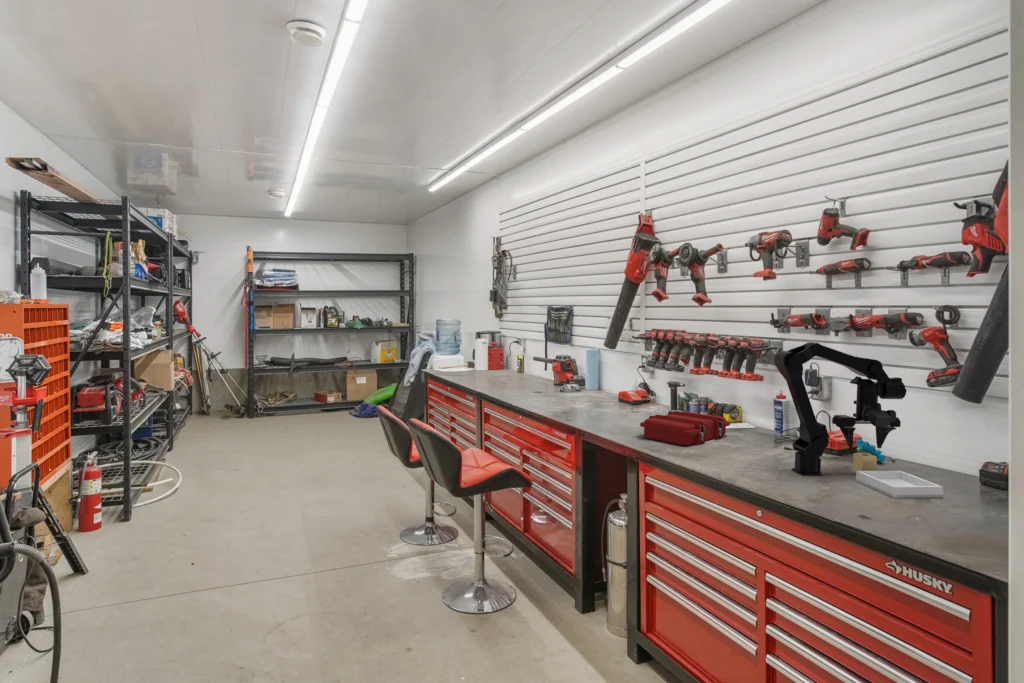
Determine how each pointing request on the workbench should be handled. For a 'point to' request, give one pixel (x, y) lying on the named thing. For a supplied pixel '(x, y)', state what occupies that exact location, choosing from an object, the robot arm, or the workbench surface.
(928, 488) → the parts tray
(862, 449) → the blue plastic figure
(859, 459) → the brass block
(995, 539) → the workbench surface
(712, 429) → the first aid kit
